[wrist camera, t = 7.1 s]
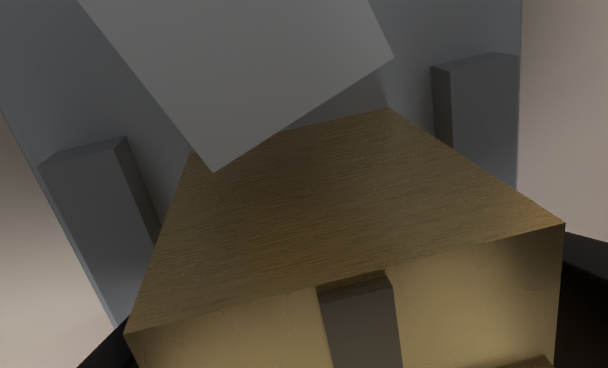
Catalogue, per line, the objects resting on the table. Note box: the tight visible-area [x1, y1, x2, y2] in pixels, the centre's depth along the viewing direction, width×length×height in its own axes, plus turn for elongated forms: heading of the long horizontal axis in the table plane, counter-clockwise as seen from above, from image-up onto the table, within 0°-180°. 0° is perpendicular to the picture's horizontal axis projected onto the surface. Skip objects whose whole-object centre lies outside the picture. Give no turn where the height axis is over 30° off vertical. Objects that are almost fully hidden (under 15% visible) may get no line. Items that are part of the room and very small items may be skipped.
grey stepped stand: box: [0, 0, 522, 329], centre depth 10 cm, size 20×12×6 cm, turn 11°
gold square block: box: [123, 107, 566, 368], centre depth 8 cm, size 5×5×6 cm
